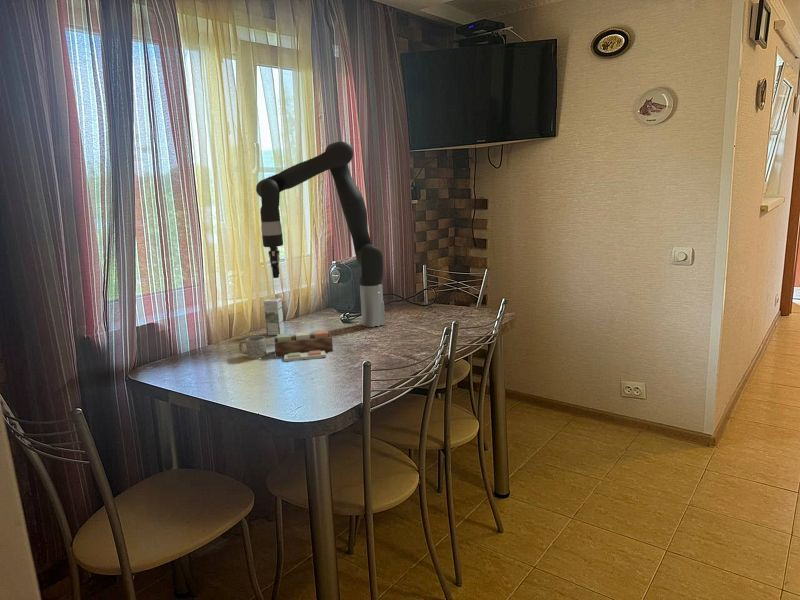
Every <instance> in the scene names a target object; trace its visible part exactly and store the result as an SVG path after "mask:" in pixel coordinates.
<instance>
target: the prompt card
mask: <svg viewBox="0 0 800 600" xmlns="http://www.w3.org/2000/svg"><path fill="white" fill-rule="evenodd" d="M283 357H284V362H285V361H286V362H293V361H294V360H296V361H303V359H306V360H313V358H315V359H323V358H322V357H325V358H327V355H326V352H325V351H321V350H317V351H309V352H306V353H300V352H297V353H289V354H287V355H284V356H283Z"/></svg>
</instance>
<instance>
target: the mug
mask: <svg viewBox="0 0 800 600" xmlns="http://www.w3.org/2000/svg"><path fill="white" fill-rule="evenodd" d="M243 344H245V350H246V351H245V350H243V346H242V345H243ZM238 350H239V352H240V354H243V355H246V359H247V360H260V359H259V358H261V359H264V358H266V357H267V348H266V338H265V336H263V335H252V336H249V337H247V338H245V339H244V340H243V339H241V340H240V341H238ZM263 357H264V358H263Z"/></svg>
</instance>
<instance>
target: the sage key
mask: <svg viewBox="0 0 800 600" xmlns="http://www.w3.org/2000/svg"><path fill="white" fill-rule="evenodd" d="M291 336H292V333H291V332H289V333H288V332H287V333H283V334H277V335H276V337H277V340H278V342H285V341H292V340H291Z"/></svg>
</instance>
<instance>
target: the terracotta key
mask: <svg viewBox="0 0 800 600" xmlns="http://www.w3.org/2000/svg"><path fill="white" fill-rule="evenodd" d="M328 332H329V331H328V329H321V330H320V329H319V330H314V331H313V334H314V338H326V337H328Z"/></svg>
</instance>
